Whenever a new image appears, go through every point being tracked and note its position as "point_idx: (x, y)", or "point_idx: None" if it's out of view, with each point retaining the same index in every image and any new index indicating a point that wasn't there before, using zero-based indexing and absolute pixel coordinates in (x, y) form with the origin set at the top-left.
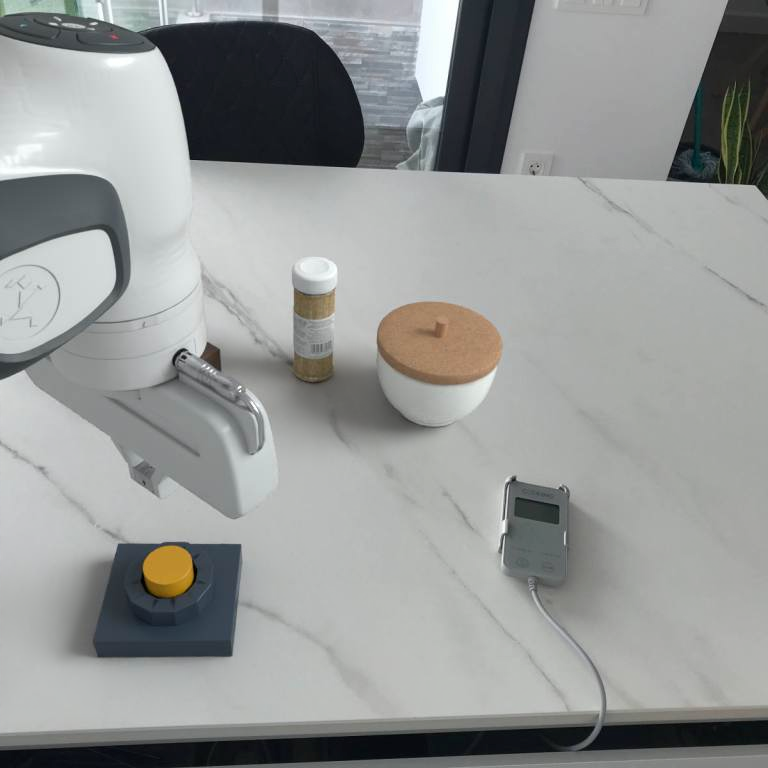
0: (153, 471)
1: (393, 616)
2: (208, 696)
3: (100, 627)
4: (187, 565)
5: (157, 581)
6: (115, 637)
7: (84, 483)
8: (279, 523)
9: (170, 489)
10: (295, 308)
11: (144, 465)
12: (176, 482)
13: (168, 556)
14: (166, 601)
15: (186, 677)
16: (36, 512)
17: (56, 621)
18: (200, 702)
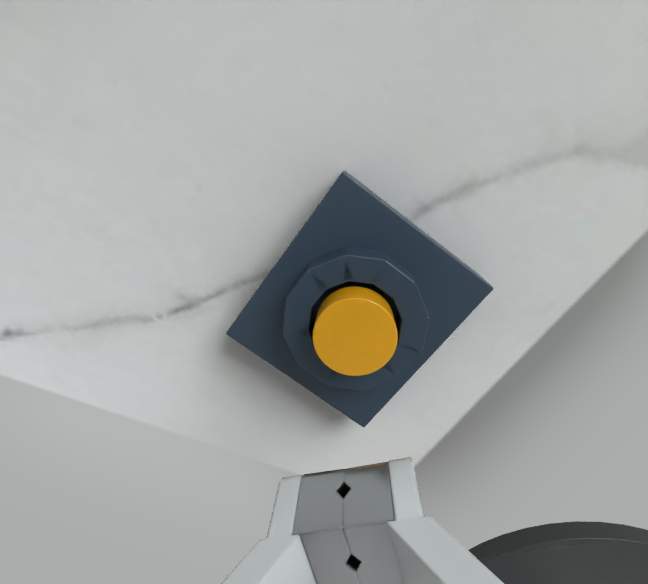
0: (379, 573)
1: (623, 5)
2: (505, 329)
3: (350, 412)
4: (378, 313)
5: (376, 367)
6: (378, 405)
7: (65, 297)
8: (313, 63)
9: (419, 492)
10: None
11: (332, 577)
12: (416, 480)
13: (340, 329)
14: (397, 353)
15: (462, 337)
16: (93, 371)
17: (283, 418)
18: (505, 341)
